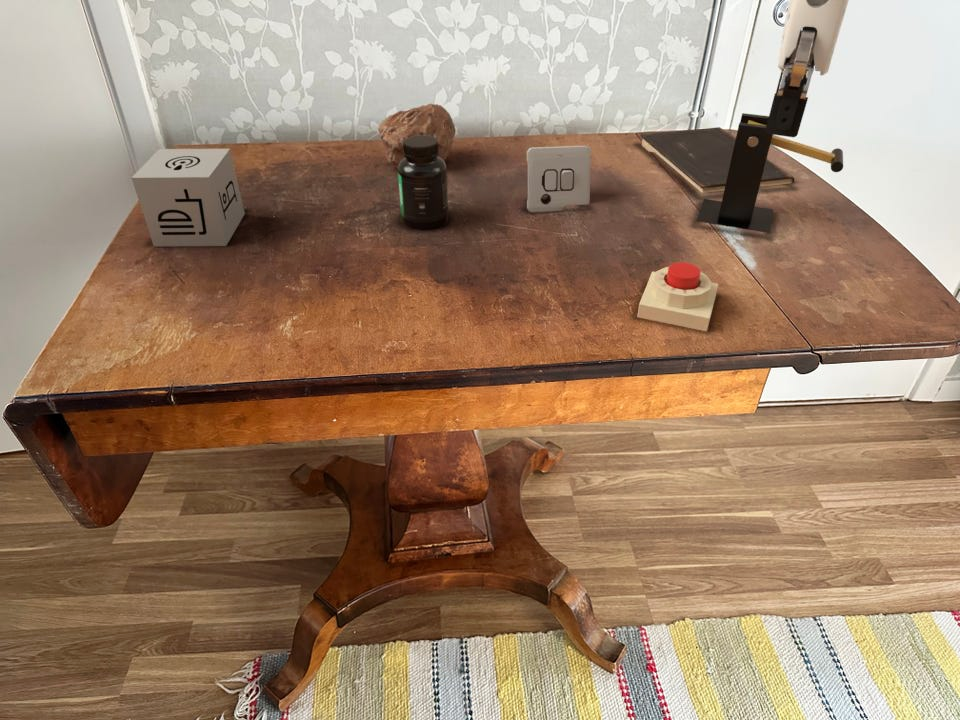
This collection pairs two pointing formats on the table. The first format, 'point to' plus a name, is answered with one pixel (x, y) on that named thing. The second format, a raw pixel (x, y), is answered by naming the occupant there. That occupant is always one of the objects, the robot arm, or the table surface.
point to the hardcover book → (705, 157)
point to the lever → (809, 151)
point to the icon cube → (189, 197)
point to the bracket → (743, 181)
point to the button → (683, 276)
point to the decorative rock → (416, 130)
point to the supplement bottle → (422, 184)
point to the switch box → (678, 302)
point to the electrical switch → (558, 177)
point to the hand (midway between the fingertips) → (784, 120)
